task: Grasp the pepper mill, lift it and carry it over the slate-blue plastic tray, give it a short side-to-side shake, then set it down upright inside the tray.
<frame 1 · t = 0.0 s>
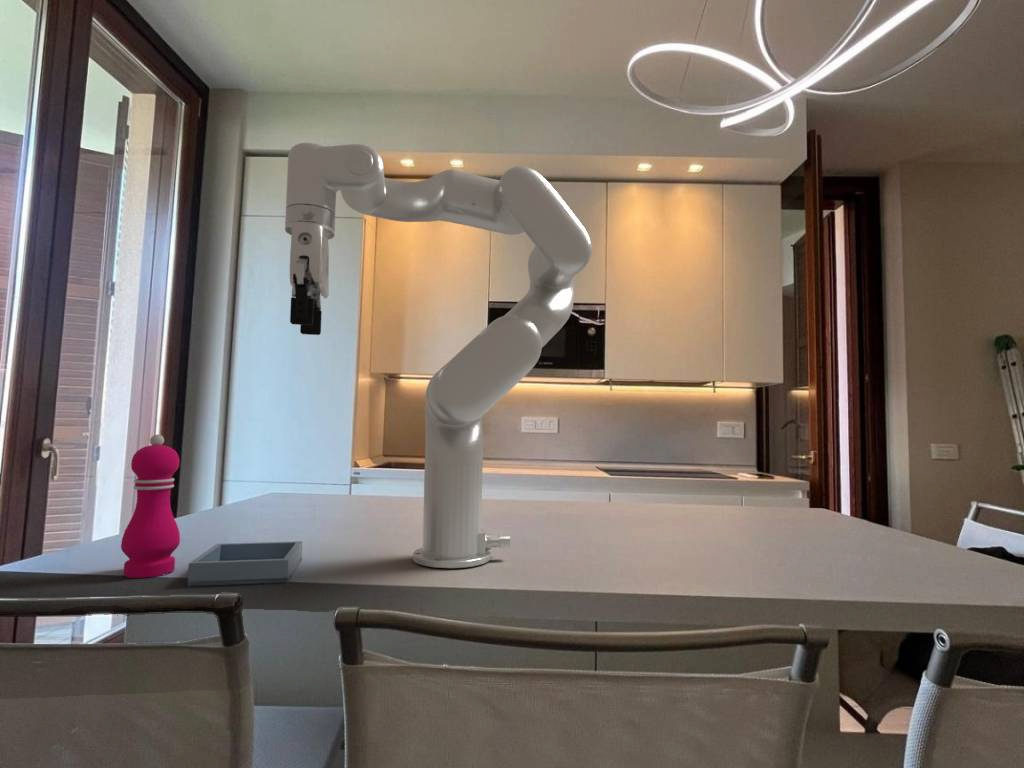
hand: (306, 329, 90), 37 cm above the table, tool pointing down, fingers open, 9 cm apart
tray: (249, 572, 83), on the table
pepper mill: (149, 574, 82), on the table
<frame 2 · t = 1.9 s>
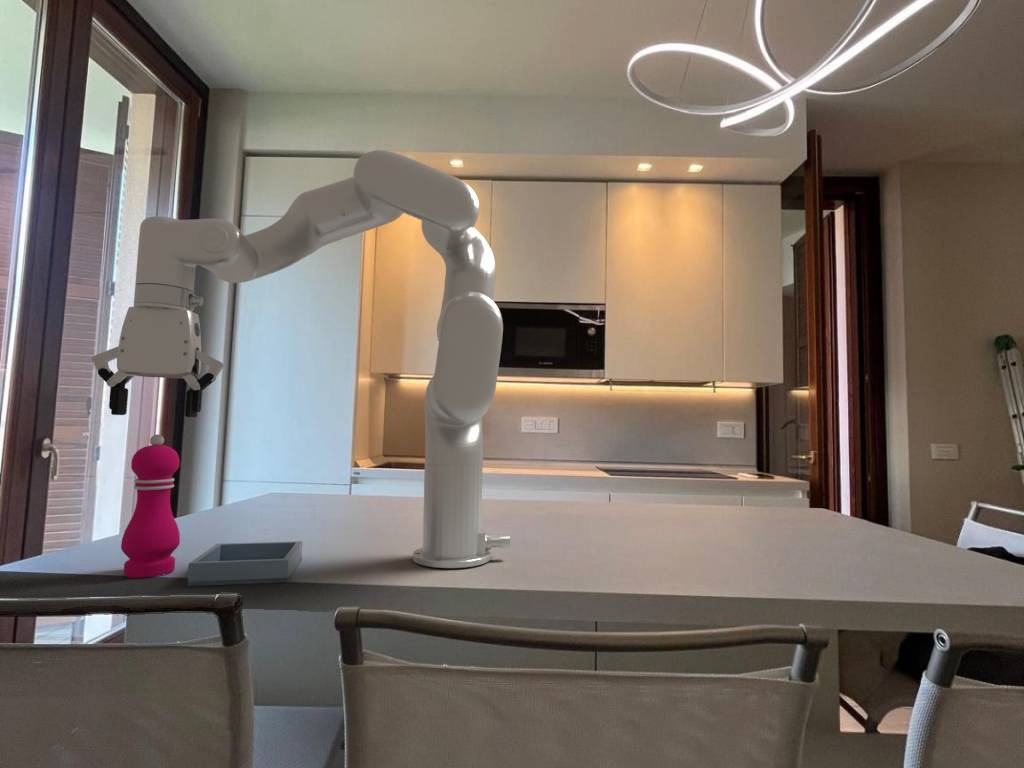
hand: (155, 416, 83), 23 cm above the table, tool pointing down, fingers open, 9 cm apart
nothing on the table moved.
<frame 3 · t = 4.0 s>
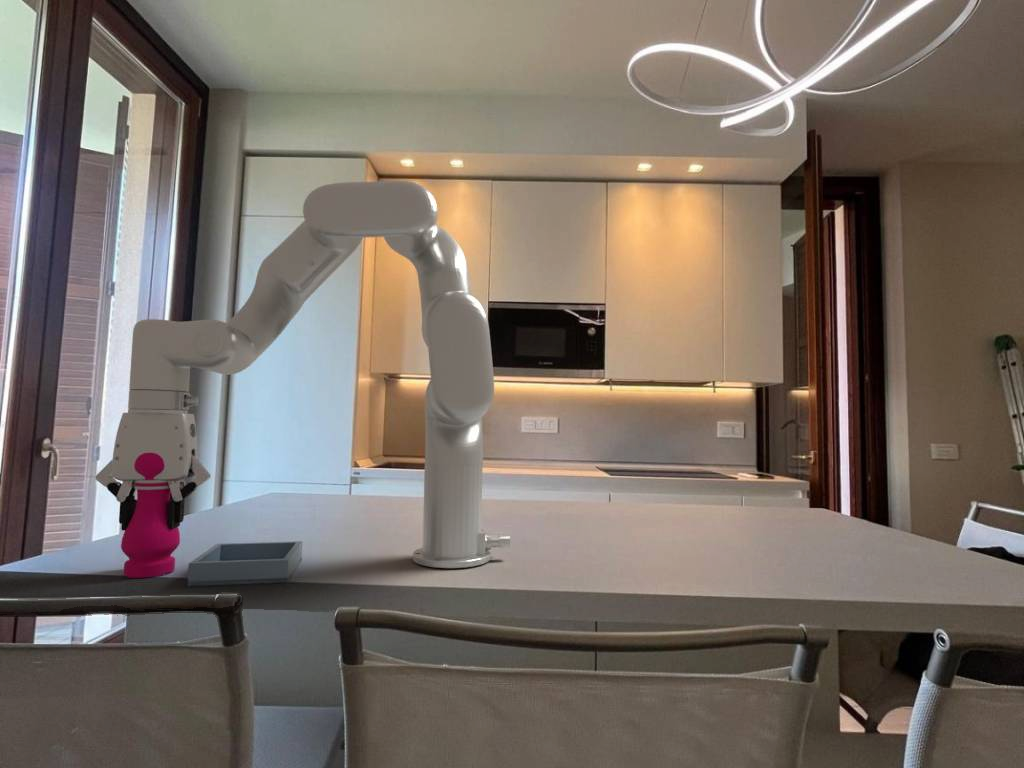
hand: (151, 526, 82), 7 cm above the table, tool pointing down, fingers closed on pepper mill, 5 cm apart
pepper mill: (149, 574, 82), on the table, touching gripper
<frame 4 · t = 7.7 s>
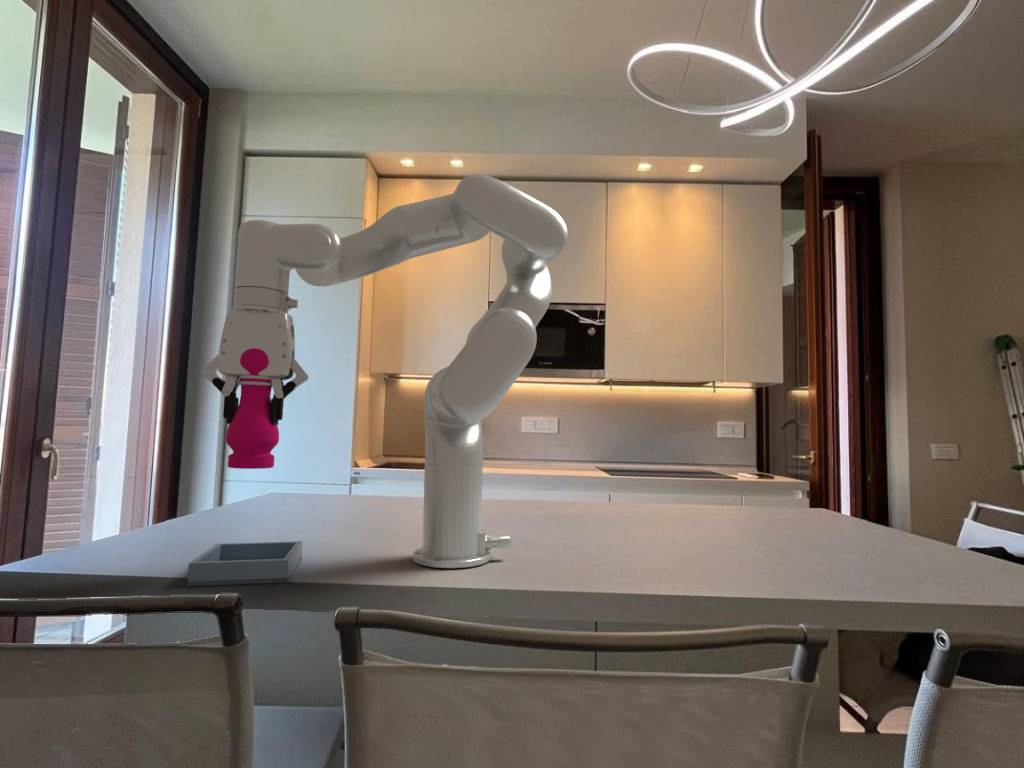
hand: (252, 423, 84), 22 cm above the table, tool pointing down, fingers closed on pepper mill, 5 cm apart
pepper mill: (250, 468, 84), point 15 cm above the table, touching gripper
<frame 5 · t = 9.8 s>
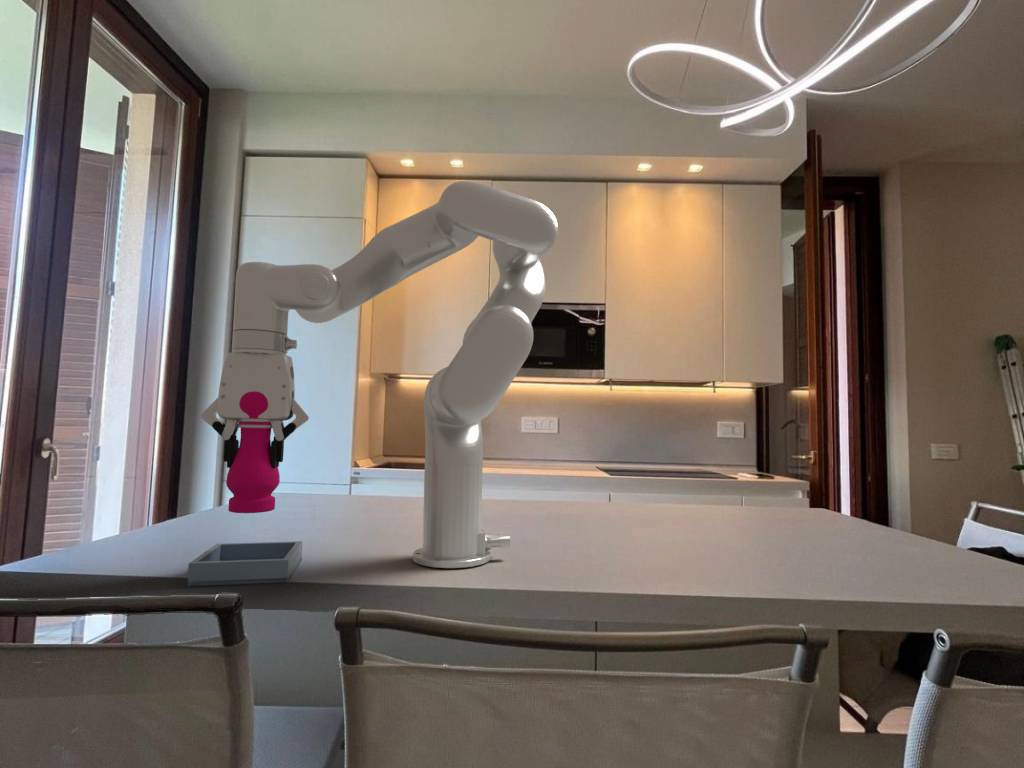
hand: (253, 465, 84), 15 cm above the table, tool pointing down, fingers closed on pepper mill, 5 cm apart
pepper mill: (251, 511, 83), point 9 cm above the table, touching gripper
when the fingers open (9 cm above the table, at t = 11.4 s): pepper mill drops 2 cm, resting on tray.
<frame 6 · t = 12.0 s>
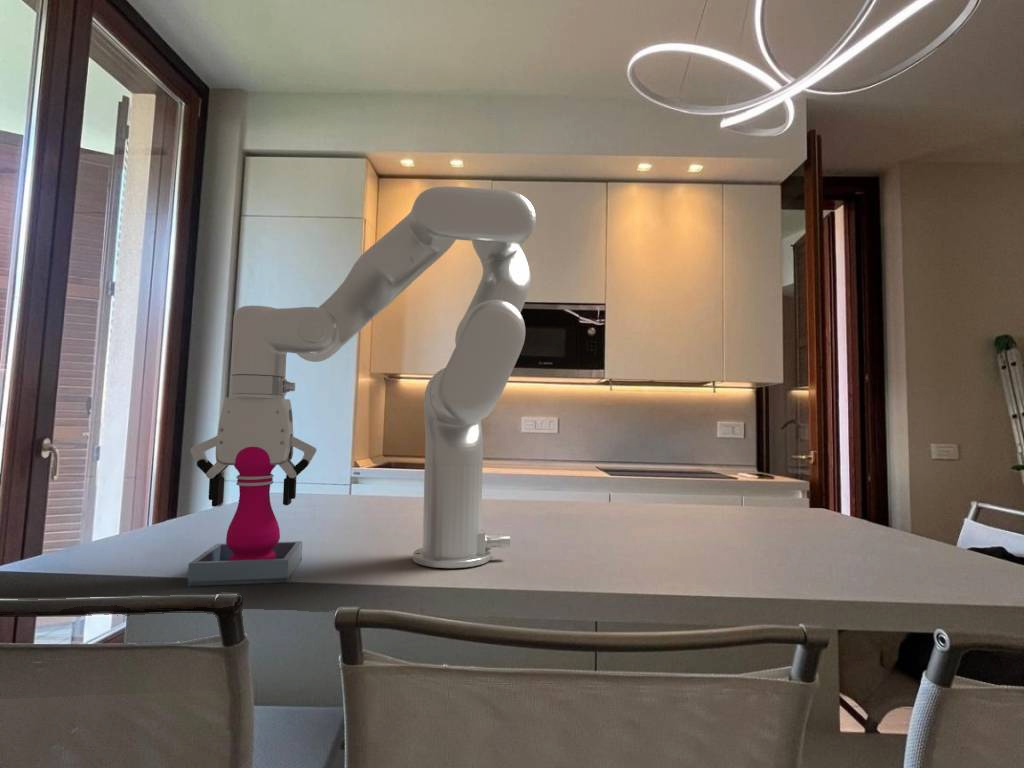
hand: (252, 504, 84), 10 cm above the table, tool pointing down, fingers open, 9 cm apart
pepper mill: (252, 568, 83), resting on tray
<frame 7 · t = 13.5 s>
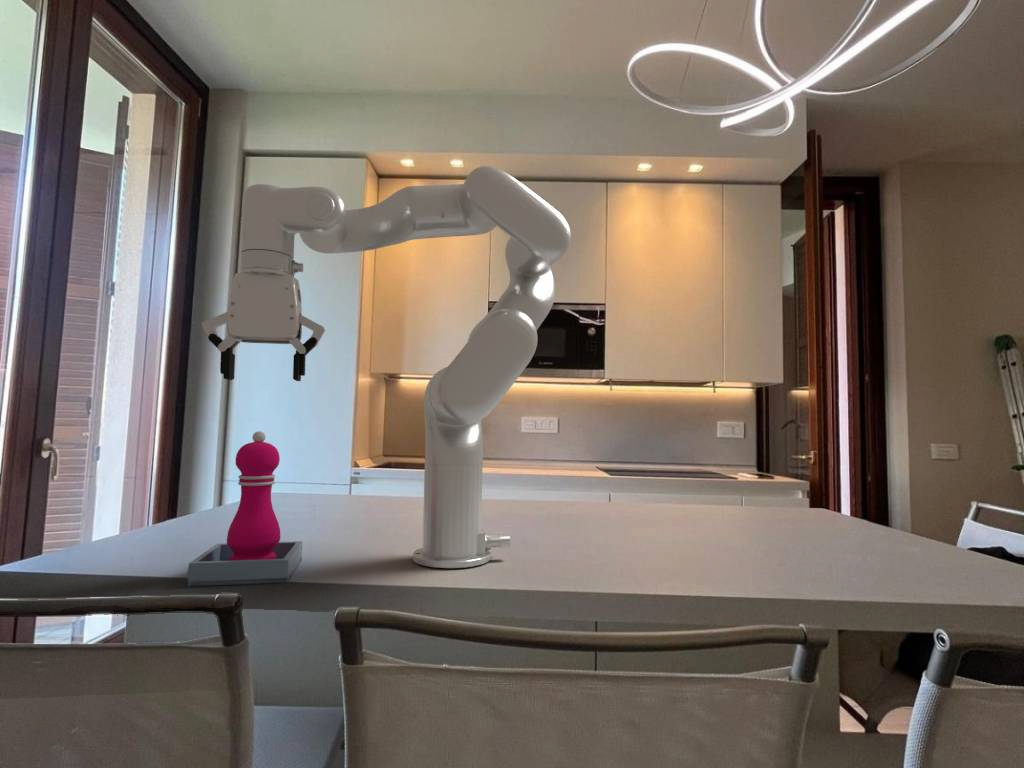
hand: (263, 379, 85), 28 cm above the table, tool pointing down, fingers open, 9 cm apart
nothing on the table moved.
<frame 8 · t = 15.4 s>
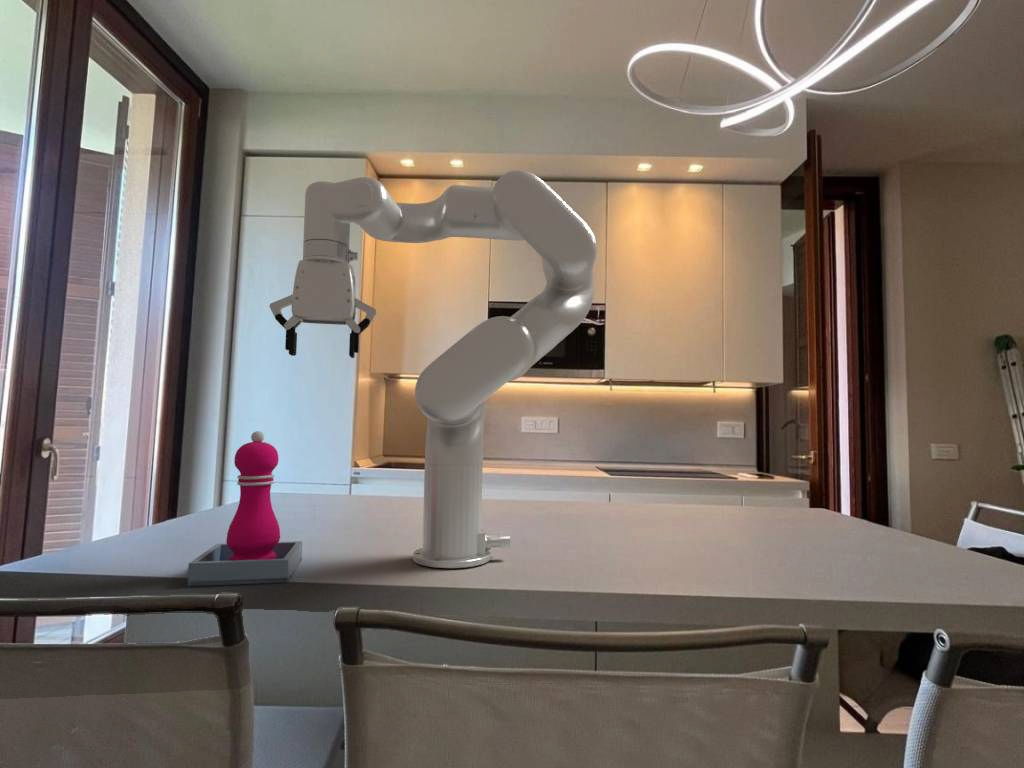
hand: (322, 355, 96), 33 cm above the table, tool pointing down, fingers open, 9 cm apart
nothing on the table moved.
at the end: pepper mill inside the target area on the tray (0.4 cm from its centre), point 0.4 cm above the tray's base; pepper mill tilted 1°; the gripper is holding nothing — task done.
